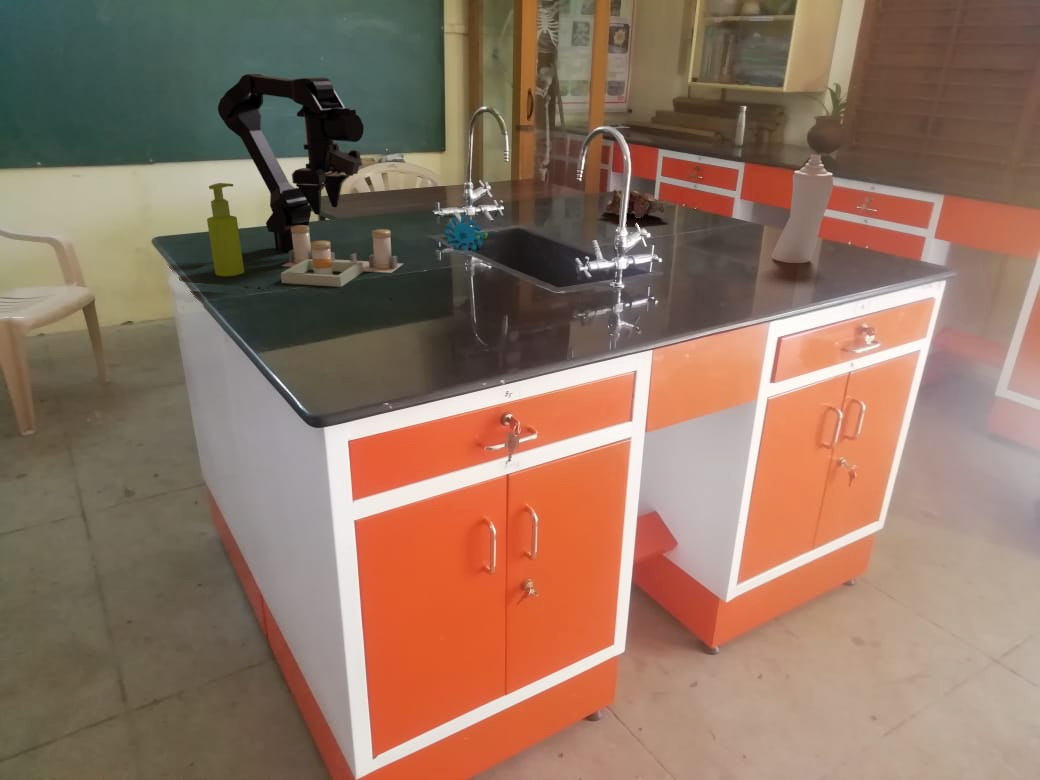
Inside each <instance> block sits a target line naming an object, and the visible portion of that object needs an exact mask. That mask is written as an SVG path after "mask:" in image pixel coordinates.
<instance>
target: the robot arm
mask: <svg viewBox="0 0 1040 780" xmlns="http://www.w3.org/2000/svg"><path fill="white" fill-rule="evenodd" d="M264 96H272V97H277V98H278V97H279V98H286V99H289V100H292V101H293V102H295V103H296V104H299V105H301V106H302V107H301V109H300V110H298V111H297V113H296V116H297V117H299V118H304V123H305V133H306V137H305V138H306V143H305V144H303V150H307V155H308V156H307V157H308V163H305V167H302V168H298V169H295V170H294V171H293V172H292V173H291V179H292V184H295V186H296V187H294V186H293V185H292V184H291V183H290V181H289V180H288V179H287V178H288V177H286V175H285V172H284V171H283V169H282V167H281V165H280V163H279V161H278V159H277V157H276V155H275V154H274V152H273V150H272V148H271V146H270V144H269V142H268V141H267V138H266V137H265V134H264V133H263V131H262V129H261V125H262V124H261V121H262V116H261V113H260V109H261V107H262V105H264V104H263V103H264ZM217 111H218V112H217V113H218V114H219V116H220V119H222V121H223V122H224V124H225V125H226V127H227V129H229V130H230V131H231V132H233V133H235V135H237V136H238V137H239V138H240V139H241V141H242V143H243V144H244V146H245V148H246V150H247V151H248V154H249V156H250V157H251V160H253V161H252V162H253V163H254V165H255V167H256V168H257V170H258V173H259V174H260V176H261V177H262V180H263V181H264V182H263V183H264V184H265V185H266V187H267V190H268V192H269V193H270V197H269V199H270V200H269V201H270V203H269V206H270V209H271V212H272V213H271V215H270V216H269V218H268V219H267V221H266V222H265V226H266V227H267V231H268V232H270V233H273V237H274V244H275V245H274V246H275V251H278V252H282V253H288V252H289V251H291V250H293V241H292V232H291V227H292V226H296V225H307V226H309V224H310V221H311V220H310V219H311V217H312V216H311V214H312V212H313V213H314V214H315V215H317V216H318V215H319V216H320V215H321V211H322V210H321V209H322V190H324V189H325V191H326V193H327V194H326V195H327V196H328V200H329V202H330V205H331V207H332V208H338V205H339V200H340V195H341V192H342V191H341V190H342V186H343V183H344V182H345V181H346V180H347V179H348V178H349V177H351V176H354V175H357V174H358V173H359V170H360V167H362V166H363V162H362V158H361V153H360V151H357V150H355V149H352V150H350V151H349V152H343V151H340V149H339V145H338V143H336V142H338V141H339V142H350V143H358V142H359V141H360V140H361V139H362V137H363V135H364V128H365V127H364V124H363V122H362V118H361V117H360V116H359V115H358V114H357V112H356V108H354V107H347V108H346V107H345V105H344V103H343V101H342V100H341V98H340V97H339V95H338V93H337V92H336V90H335V88H334V87H333V84H332V82H331V80H330V79H329V78H327V77H305V78H296V79H295V78H294V79H290V78H284V77H282V78H281V77H276V76H269V75H262V74H261V73H252V74H251V73H247V74H244V75H242V76H241V77H240V79H239V80H238V81H237V83H235V85H233V86H232V87H230V89H228V90H227V91H225V93H224V95H223V97H221V98H220V100H219V102H218V106H217ZM334 141H335V142H334ZM309 227H310V226H309Z"/></svg>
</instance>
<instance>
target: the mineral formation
mask: <svg viewBox="0 0 1040 780" xmlns="http://www.w3.org/2000/svg"><path fill="white" fill-rule="evenodd" d="M612 192H613V196H612V197H613V200H612V201H611V200H608V201H607V203H606V206H605V210H606V212H611V214H614V215H616V216H618V215H619V208H620V199H621V189H617V188H616V189H613V191H612ZM676 205H677V204H676V202H672V201H671V202H669V201H657V200H656V199H654V195H652V194H651V193H648V192H645V193H644V194H642V193H641V192H640V190H637V189H633V190H631V191H630V199H629V208H628V214H629V213H631V214H632V213H633V212H635V214H634V218H635V217H642V218H643V217H644V216H645V215H644V214H649V215H650V214H651V213H656V212H657V211H658V212H660V213H661V214H663V213H664V212H665V211H667V209H668V207H669V206H673V207H675V206H676Z"/></svg>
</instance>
